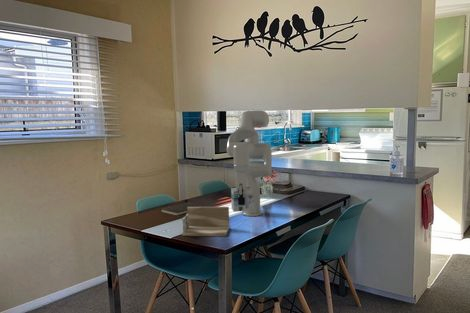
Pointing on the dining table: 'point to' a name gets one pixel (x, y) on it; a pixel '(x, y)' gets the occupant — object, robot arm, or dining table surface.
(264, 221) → the dining table surface
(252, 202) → the light bulb box
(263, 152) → the robot arm
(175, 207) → the hardcover book
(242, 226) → the dining table surface
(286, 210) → the dining table surface
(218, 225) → the shelf
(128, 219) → the dining table surface
